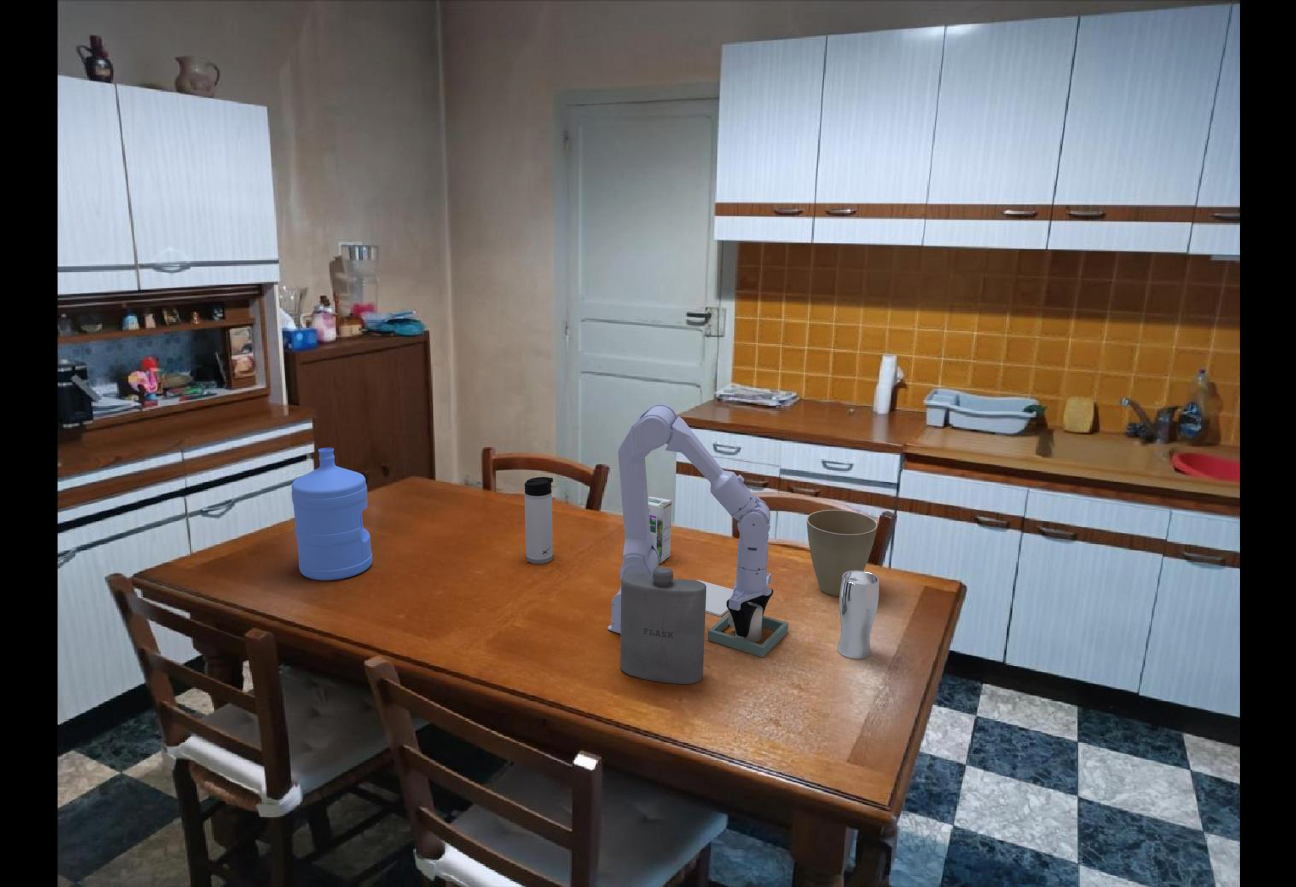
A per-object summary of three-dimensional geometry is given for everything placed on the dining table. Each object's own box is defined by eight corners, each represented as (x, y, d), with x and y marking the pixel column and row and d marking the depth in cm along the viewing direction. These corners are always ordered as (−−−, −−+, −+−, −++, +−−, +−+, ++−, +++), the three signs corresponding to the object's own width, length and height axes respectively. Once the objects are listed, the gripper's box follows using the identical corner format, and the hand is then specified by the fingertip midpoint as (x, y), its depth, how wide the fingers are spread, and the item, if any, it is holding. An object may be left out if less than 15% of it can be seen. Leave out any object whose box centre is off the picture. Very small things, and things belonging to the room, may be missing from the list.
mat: (720, 617, 162) (720, 614, 162) (670, 602, 168) (670, 599, 168) (746, 595, 172) (746, 593, 172) (697, 581, 178) (697, 579, 178)
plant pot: (815, 569, 186) (820, 505, 181) (878, 584, 178) (885, 517, 174) (791, 593, 173) (796, 524, 169) (859, 611, 166) (866, 539, 162)
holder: (763, 657, 147) (763, 647, 147) (707, 640, 153) (707, 630, 152) (787, 632, 157) (788, 622, 156) (734, 616, 163) (734, 607, 162)
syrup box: (638, 559, 190) (639, 501, 186) (650, 551, 195) (651, 494, 191) (659, 564, 187) (661, 506, 183) (671, 556, 192) (672, 498, 188)
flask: (615, 676, 140) (616, 571, 135) (624, 659, 146) (625, 557, 140) (699, 689, 137) (703, 581, 132) (705, 671, 142) (709, 567, 137)
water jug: (324, 588, 172) (312, 463, 164) (285, 569, 181) (272, 450, 174) (386, 565, 184) (378, 448, 177) (347, 548, 193) (337, 436, 186)
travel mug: (552, 564, 186) (551, 482, 181) (524, 564, 186) (522, 482, 181) (555, 554, 192) (554, 474, 187) (528, 553, 192) (526, 474, 187)
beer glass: (845, 638, 155) (851, 566, 151) (879, 650, 150) (886, 576, 147) (828, 652, 149) (834, 578, 146) (863, 665, 145) (870, 589, 141)
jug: (765, 634, 156) (767, 606, 154) (754, 645, 151) (755, 616, 150) (734, 625, 159) (736, 597, 157) (723, 635, 155) (724, 607, 153)
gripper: (755, 583, 143) (751, 651, 146) (786, 556, 155) (782, 620, 158) (719, 573, 147) (717, 640, 150) (753, 548, 158) (750, 610, 162)
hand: (748, 629), depth 154 cm, fingers open, 5 cm apart
